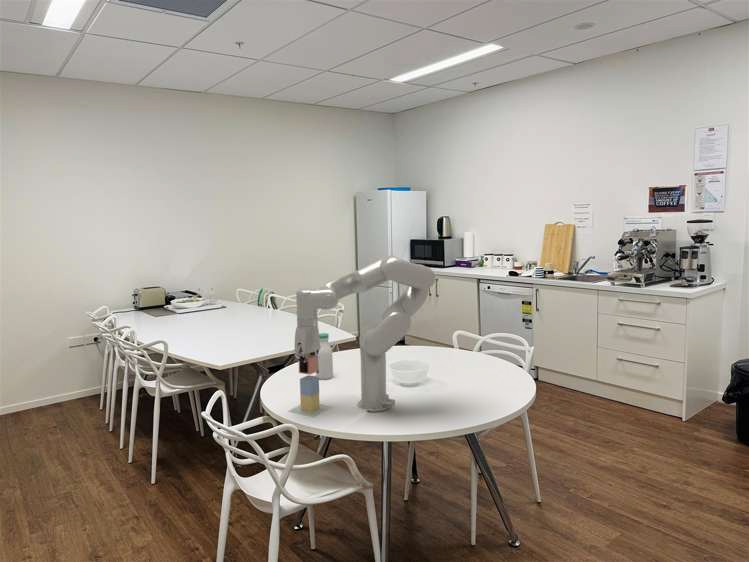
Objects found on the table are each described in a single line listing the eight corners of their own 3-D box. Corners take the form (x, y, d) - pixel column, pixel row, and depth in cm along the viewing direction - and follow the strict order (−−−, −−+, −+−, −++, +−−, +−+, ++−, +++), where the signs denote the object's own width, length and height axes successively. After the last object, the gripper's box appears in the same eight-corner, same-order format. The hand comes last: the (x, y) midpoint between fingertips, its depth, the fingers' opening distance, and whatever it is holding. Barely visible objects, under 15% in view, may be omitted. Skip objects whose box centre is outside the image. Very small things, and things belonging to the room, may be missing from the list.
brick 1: (317, 371, 204) (317, 355, 203) (310, 374, 199) (309, 358, 199) (307, 369, 206) (306, 353, 205) (299, 372, 202) (298, 357, 201)
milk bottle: (335, 375, 248) (334, 332, 246) (329, 380, 241) (328, 336, 239) (319, 374, 251) (318, 331, 248) (313, 379, 243) (311, 335, 241)
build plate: (332, 408, 207) (332, 406, 207) (313, 419, 196) (313, 416, 196) (306, 403, 213) (306, 401, 213) (287, 413, 202) (287, 411, 202)
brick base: (319, 407, 205) (319, 392, 205) (311, 412, 201) (311, 396, 200) (308, 405, 208) (308, 390, 207) (300, 409, 204) (300, 394, 203)
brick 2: (319, 392, 205) (318, 376, 204) (311, 396, 200) (310, 380, 200) (308, 390, 207) (307, 375, 206) (300, 394, 203) (299, 378, 202)
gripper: (312, 317, 209) (313, 363, 212) (284, 325, 195) (286, 375, 197) (328, 319, 206) (329, 366, 208) (301, 327, 191) (302, 378, 193)
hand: (308, 369), depth 203 cm, fingers closed on brick 1, 5 cm apart
